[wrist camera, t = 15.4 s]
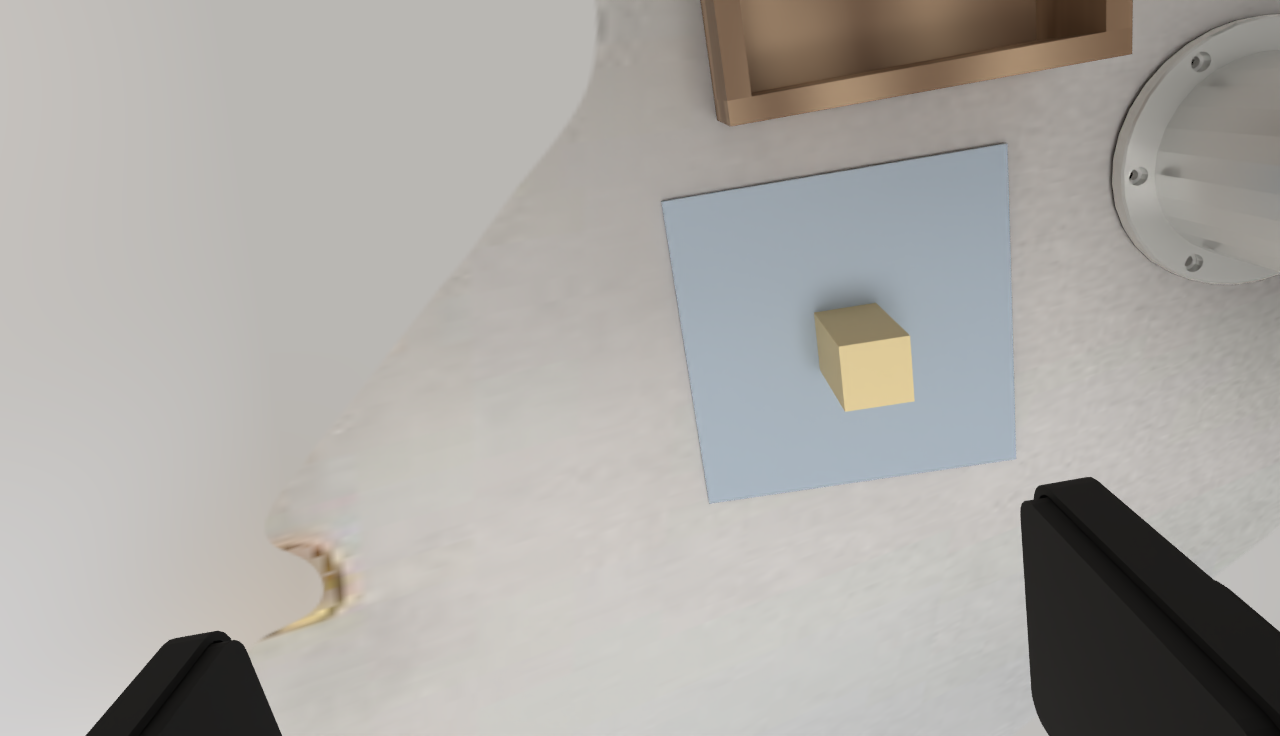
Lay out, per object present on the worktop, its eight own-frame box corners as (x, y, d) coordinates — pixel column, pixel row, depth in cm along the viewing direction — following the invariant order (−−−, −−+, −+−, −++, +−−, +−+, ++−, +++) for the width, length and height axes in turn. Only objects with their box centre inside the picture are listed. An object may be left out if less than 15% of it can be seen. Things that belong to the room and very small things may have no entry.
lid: (999, 142, 41) (1065, 153, 35) (1008, 451, 47) (1068, 512, 40) (661, 199, 43) (663, 220, 36) (708, 495, 48) (717, 561, 41)
